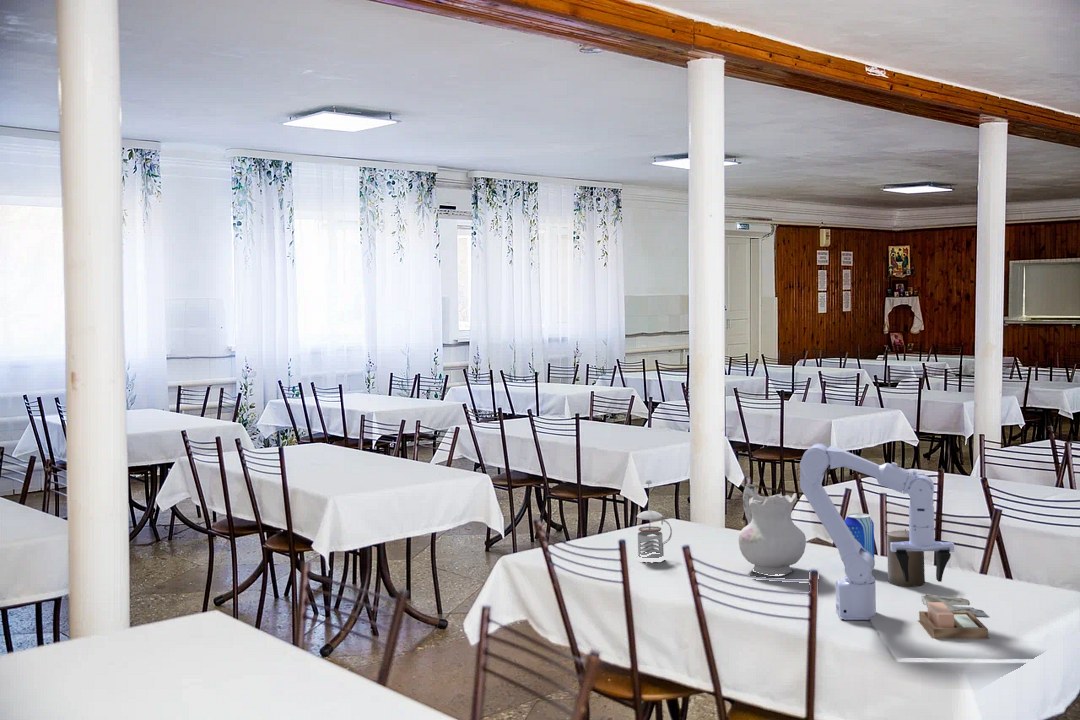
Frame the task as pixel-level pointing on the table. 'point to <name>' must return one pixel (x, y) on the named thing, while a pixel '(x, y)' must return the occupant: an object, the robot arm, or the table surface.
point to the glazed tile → (964, 621)
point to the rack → (957, 630)
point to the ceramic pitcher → (770, 533)
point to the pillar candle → (914, 562)
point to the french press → (649, 530)
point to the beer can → (862, 530)
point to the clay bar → (940, 615)
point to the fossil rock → (953, 601)
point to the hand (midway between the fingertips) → (922, 580)
